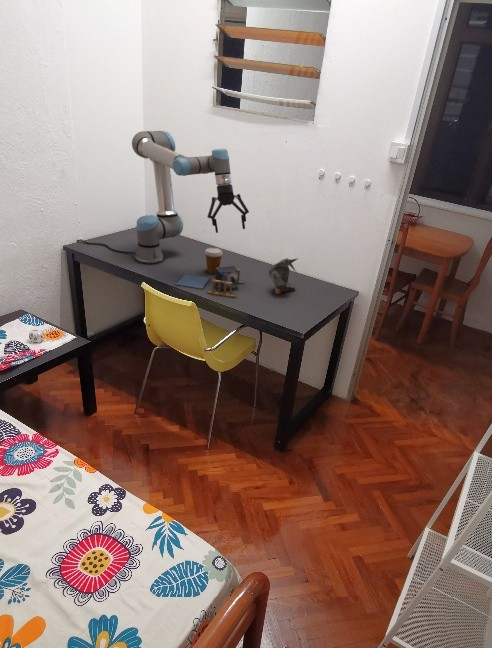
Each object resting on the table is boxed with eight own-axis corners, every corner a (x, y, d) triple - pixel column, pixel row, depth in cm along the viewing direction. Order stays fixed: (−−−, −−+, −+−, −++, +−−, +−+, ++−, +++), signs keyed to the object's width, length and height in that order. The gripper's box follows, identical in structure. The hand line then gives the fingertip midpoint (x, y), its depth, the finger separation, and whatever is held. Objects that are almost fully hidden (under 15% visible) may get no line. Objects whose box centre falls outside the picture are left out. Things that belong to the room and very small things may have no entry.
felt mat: (175, 285, 233) (175, 284, 233) (184, 275, 244) (184, 274, 244) (202, 289, 232) (202, 288, 232) (209, 279, 243) (209, 278, 243)
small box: (218, 291, 231) (219, 272, 226) (214, 286, 236) (214, 267, 230) (237, 289, 236) (239, 270, 230) (232, 284, 241) (234, 265, 235)
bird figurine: (262, 286, 242) (265, 254, 232) (288, 284, 248) (292, 252, 238) (273, 298, 231) (276, 264, 222) (299, 295, 237) (304, 262, 227)
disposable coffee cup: (218, 275, 248) (219, 254, 241) (202, 272, 249) (202, 251, 243) (223, 269, 256) (224, 249, 249) (207, 266, 257) (208, 246, 250)
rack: (207, 293, 229) (208, 279, 224) (217, 279, 244) (218, 265, 240) (235, 297, 227) (235, 283, 223) (243, 283, 243) (243, 269, 239)
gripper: (199, 187, 210) (206, 234, 219) (251, 181, 215) (256, 227, 223) (197, 187, 217) (204, 233, 225) (248, 181, 222) (253, 226, 230)
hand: (230, 230), depth 224 cm, fingers open, 13 cm apart
